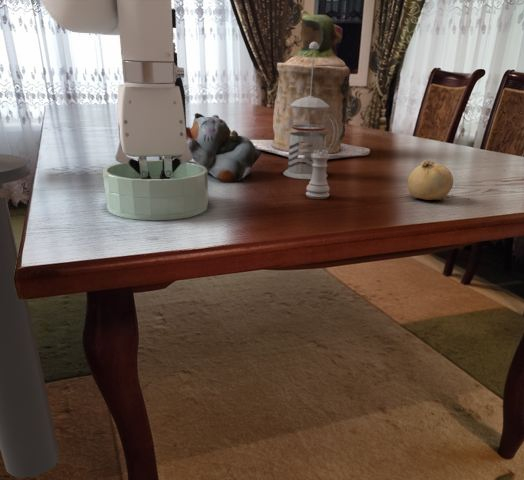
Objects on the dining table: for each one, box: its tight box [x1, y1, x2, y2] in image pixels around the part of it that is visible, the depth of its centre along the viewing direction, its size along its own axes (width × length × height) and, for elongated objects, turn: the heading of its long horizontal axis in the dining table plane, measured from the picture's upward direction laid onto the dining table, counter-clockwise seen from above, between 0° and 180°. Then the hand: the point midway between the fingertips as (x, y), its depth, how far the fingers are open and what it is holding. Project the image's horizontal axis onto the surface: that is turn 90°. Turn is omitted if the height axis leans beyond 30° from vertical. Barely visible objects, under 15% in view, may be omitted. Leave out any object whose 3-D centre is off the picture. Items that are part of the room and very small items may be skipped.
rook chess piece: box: [305, 150, 330, 200], centre depth 95 cm, size 4×4×8 cm
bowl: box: [102, 159, 209, 221], centre depth 86 cm, size 16×16×6 cm
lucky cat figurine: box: [186, 112, 262, 183], centre depth 108 cm, size 15×12×14 cm
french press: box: [282, 42, 339, 180], centre depth 108 cm, size 10×12×25 cm
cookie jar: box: [249, 10, 371, 161], centre depth 132 cm, size 25×25×32 cm
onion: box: [407, 159, 454, 201], centre depth 96 cm, size 8×8×7 cm
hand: (157, 199), depth 87 cm, fingers closed
